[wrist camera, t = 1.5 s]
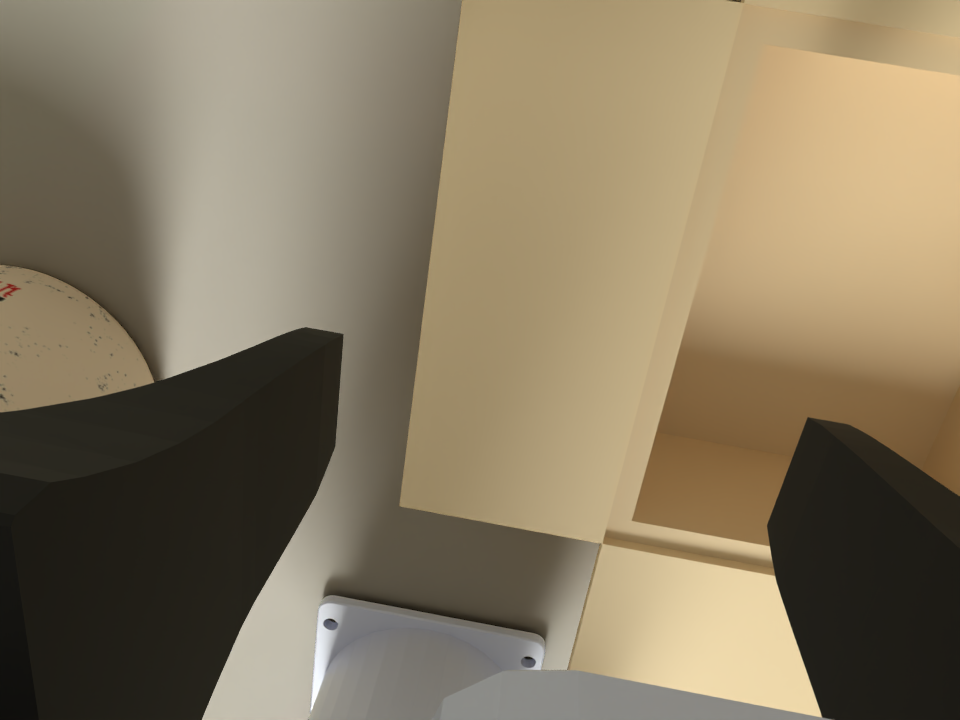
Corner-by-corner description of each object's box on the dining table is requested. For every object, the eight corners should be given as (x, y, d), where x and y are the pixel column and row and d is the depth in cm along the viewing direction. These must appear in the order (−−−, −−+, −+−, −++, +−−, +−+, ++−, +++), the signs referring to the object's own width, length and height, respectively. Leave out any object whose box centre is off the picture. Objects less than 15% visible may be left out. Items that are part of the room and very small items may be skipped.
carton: (866, 618, 26) (984, 859, 18) (416, 534, 26) (357, 735, 19) (1231, -177, 16) (1756, -328, 9) (529, -281, 17) (499, -500, 10)
